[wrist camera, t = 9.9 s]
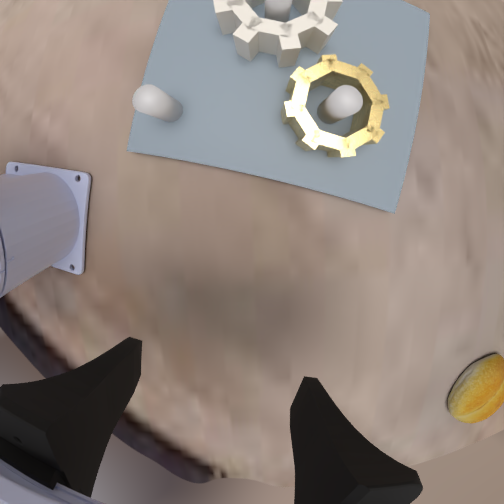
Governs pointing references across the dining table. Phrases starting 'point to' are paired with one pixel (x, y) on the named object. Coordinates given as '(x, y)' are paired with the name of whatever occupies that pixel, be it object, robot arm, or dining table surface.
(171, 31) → the gear board
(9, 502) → the robot arm
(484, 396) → the bread roll
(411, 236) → the dining table surface
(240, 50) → the gear
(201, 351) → the dining table surface
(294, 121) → the brass gear
